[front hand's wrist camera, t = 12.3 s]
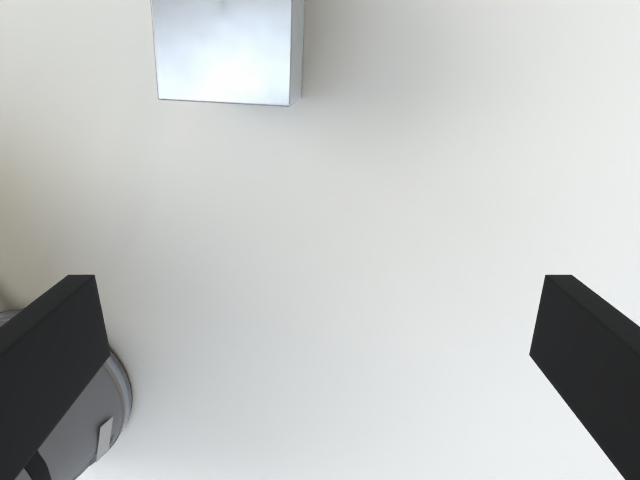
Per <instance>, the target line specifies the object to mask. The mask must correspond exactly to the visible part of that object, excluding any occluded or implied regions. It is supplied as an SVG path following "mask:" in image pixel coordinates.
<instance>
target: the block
mask: <svg viewBox="0 0 640 480" xmlns="http://www.w3.org/2000/svg"><path fill="white" fill-rule="evenodd" d="M304 7H305V0H151V10H152V23H153V36H154V49H155V62H156V75H157V88H158V99H160V100H176V101H195V102H213V103H231V104H250V105H268V106H286V107H289V106H291V105H292V104H294V103H295V102H297V101H298V100H300V99H301V94H302V65H303V36H304Z"/></svg>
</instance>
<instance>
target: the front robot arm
mask: <svg viewBox="0 0 640 480" xmlns="http://www.w3.org/2000/svg"><path fill="white" fill-rule="evenodd" d="M529 355H530V356H531V358H532V359H533V360H534V362H535V363H536V364H537V366H538V367H539V368H540V369H541V371H542V372H543V373H544V375H545V376H546V377H547V379H548V380H549V381H550V382H551V384H552V385H553V386H554V388H555V389H556V390H557V392H558V393H559V394H560V395H561V397H562V398H563V399H564V401H565V402H566V403H567V405H568V406H569V407H570V409H571V410H572V411H573V412H574V414H575V415H576V416H577V418H578V419H579V420H580V422H581V423H582V424H583V425H584V427H585V428H586V429H587V431H588V432H589V433H590V435H591V436H592V437H593V438H594V440H595V441H596V442H597V444H598V445H599V446H600V448H601V449H602V450H603V451H604V453H605V454H606V455H607V457H608V458H609V459H610V461H611V462H612V463H613V464H614V466H615V467H616V468H617V470H618V471H619V472H620V474H621V475H622V476H623V477H624V479H625V480H640V327H639V326H638V325H637V324H635V323H634V322H633V321H631V320H630V319H629V318H627V317H626V316H625V315H624V314H622V313H621V312H620V311H618V310H617V309H616V308H614V307H613V306H612V305H610V304H609V303H608V302H607V301H605V300H604V299H603V298H601V297H600V296H599V295H597V294H596V293H595V292H593V291H592V290H591V289H590V288H588V287H587V286H586V285H584V284H583V283H582V282H580V281H579V280H578V279H576V278H575V277H574V276H572V275H545V279H544V284H543V289H542V294H541V299H540V304H539V309H538V314H537V319H536V324H535V329H534V334H533V339H532V344H531V349H530V354H529ZM131 406H132V393H131V387H130V384H129V380H128V377H127V375H126V373H125V371H124V369H123V367H122V365H121V363H120V362H119V360H118V359H117V358H116V356H115V355H114V354H113V353H112V351H111V350H110V349H109V344H108V339H107V334H106V329H105V324H104V319H103V314H102V309H101V304H100V299H99V294H98V289H97V284H96V279H95V275H68V276H66V277H65V278H64V279H62V280H61V281H60V282H58V283H57V284H56V285H54V286H53V287H52V288H50V289H49V290H48V291H47V292H45V293H44V294H43V295H41V296H40V297H39V298H37V299H36V300H35V301H33V302H32V303H31V304H30V305H28V306H27V307H26V308H24V309H23V310H13V311H5V312H0V480H75V479H76V478H77V477H78V476H80V475H81V474H82V473H83V472H84V471H85V470H86V469H87V468H88V466H90V465H91V464H93V463H94V462H97V461H98V460H99V459H100V458H101V457H102V456H103V455H104V454H105V453H106V452H107V451H109V449H110V448H111V447H112V445H113V444H114V443H115V441H116V440H117V438H118V437H119V435H120V433H121V431H122V430H123V428H124V426H125V424H126V422H127V421H128V418H129V415H130V411H131Z"/></svg>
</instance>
